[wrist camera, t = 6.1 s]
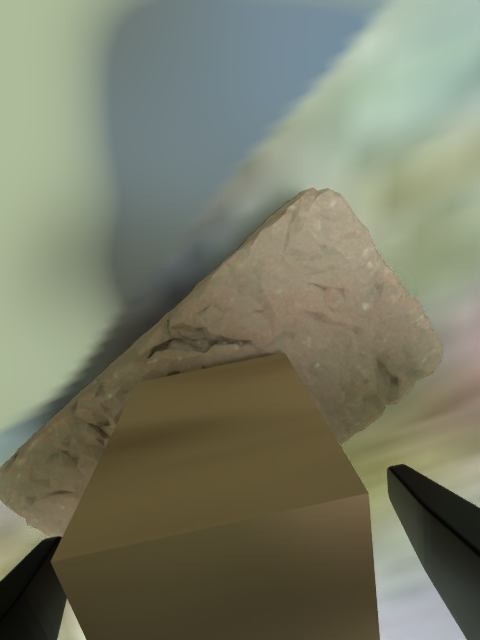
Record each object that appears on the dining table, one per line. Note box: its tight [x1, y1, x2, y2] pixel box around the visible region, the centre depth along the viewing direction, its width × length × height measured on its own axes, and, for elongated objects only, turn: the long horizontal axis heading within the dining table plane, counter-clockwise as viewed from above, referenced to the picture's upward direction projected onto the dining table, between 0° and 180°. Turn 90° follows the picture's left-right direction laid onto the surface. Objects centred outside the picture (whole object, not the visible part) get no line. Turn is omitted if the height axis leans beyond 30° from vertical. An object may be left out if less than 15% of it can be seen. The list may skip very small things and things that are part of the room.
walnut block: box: [51, 353, 380, 640], centre depth 9 cm, size 5×5×6 cm
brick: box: [0, 188, 443, 537], centre depth 14 cm, size 17×8×5 cm, turn 132°
